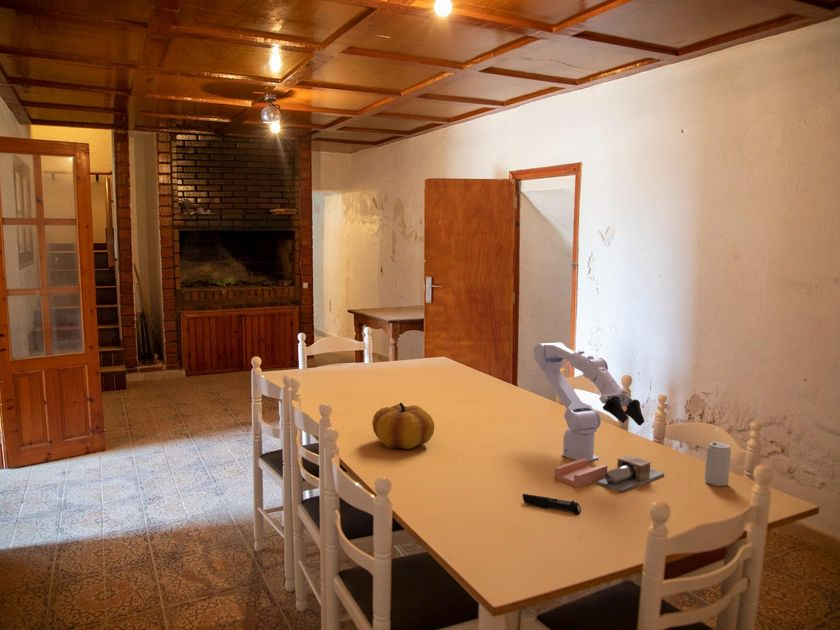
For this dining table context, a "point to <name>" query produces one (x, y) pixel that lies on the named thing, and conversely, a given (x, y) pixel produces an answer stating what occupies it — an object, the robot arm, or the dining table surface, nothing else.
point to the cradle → (579, 473)
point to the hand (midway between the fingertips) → (633, 422)
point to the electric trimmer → (552, 503)
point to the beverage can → (717, 464)
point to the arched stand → (642, 476)
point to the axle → (620, 474)
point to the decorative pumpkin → (403, 426)
